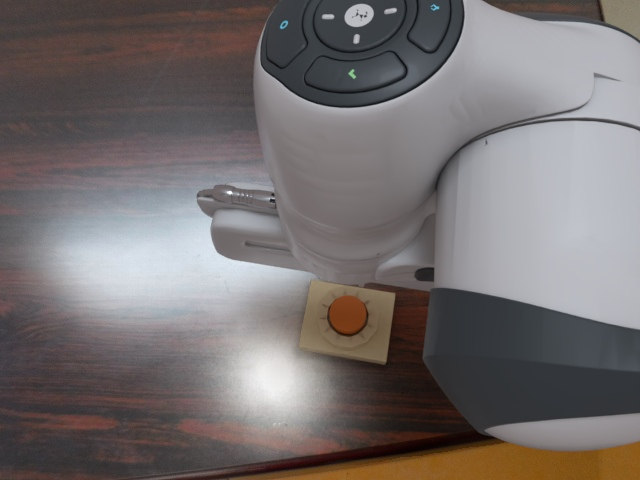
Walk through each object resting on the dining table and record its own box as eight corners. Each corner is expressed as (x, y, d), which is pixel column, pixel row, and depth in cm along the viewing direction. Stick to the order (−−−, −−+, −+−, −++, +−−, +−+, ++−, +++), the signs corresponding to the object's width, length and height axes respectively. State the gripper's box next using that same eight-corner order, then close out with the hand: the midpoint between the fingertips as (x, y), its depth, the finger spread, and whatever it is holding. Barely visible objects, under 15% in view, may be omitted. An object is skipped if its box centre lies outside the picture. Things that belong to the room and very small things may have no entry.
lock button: (368, 302, 60) (368, 298, 59) (362, 337, 59) (363, 334, 57) (333, 296, 61) (332, 292, 59) (327, 331, 59) (326, 327, 58)
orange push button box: (394, 298, 64) (397, 288, 60) (384, 364, 61) (387, 359, 58) (312, 284, 65) (310, 274, 61) (299, 349, 62) (296, 343, 59)
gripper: (175, 230, 33) (222, 291, 46) (515, 284, 31) (464, 332, 44) (201, 142, 35) (239, 224, 48) (521, 186, 33) (470, 260, 46)
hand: (348, 276), depth 46 cm, fingers closed
